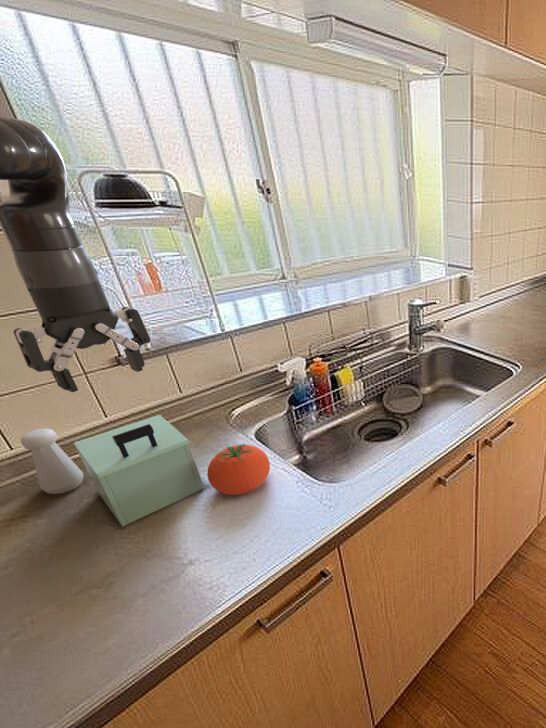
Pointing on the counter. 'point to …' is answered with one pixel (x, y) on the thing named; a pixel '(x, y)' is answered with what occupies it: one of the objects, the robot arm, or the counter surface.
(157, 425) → the green box lid
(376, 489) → the counter surface
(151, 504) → the mint green box
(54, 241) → the robot arm
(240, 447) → the tomato
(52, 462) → the salt shaker
